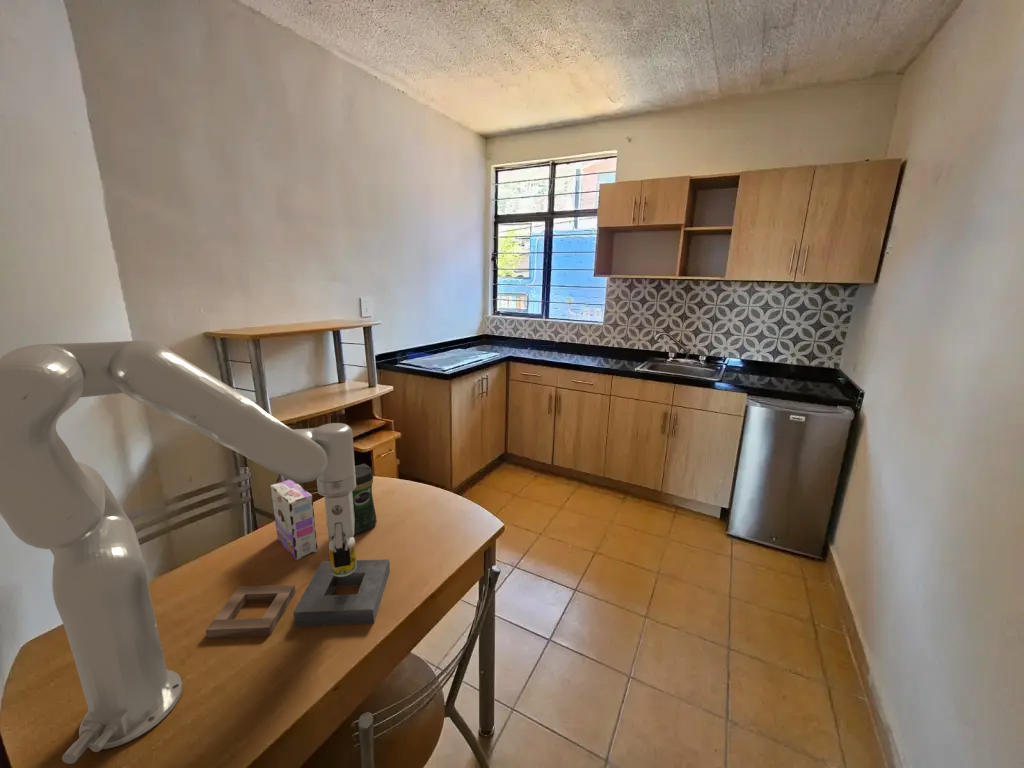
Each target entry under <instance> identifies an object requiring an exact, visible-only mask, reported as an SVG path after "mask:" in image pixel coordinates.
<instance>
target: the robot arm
mask: <svg viewBox="0 0 1024 768" xmlns="http://www.w3.org/2000/svg"><path fill="white" fill-rule="evenodd" d="M118 394H124V395H126V396H127V397H129V398H131V399H132V400H135V401H136V402H138V403H140V404H142V405H144V406H147V407H148V408H150V409H152V410H154V411H156V412H157V413H160V414H162V415H164V416H166V417H169V418H171V419H173V420H175V421H176V422H178V423H179V424H183V425H184V426H185V427H189V429H193V430H194V431H195V432H197V433H200V434H202V435H204V436H205V437H208V438H210V439H212V440H213V441H214V442H216V443H218V444H220V445H221V446H224V447H225V448H228V449H230V450H231V451H234V452H236V453H238V454H239V455H241V456H243V457H245V458H246V459H249V460H250V461H252V462H254V463H255V464H258V465H260V466H261V467H263V468H265V469H267V470H268V471H271V472H273V473H275V474H277V475H279V476H280V477H283V478H285V479H287V480H292V481H294V482H296V483H298V484H299V483H300V484H303V483H304V484H305V483H310V482H313V481H315V480H316V485H317V493H318V494H319V495H320V496H323V497H324V505H325V508H324V509H325V518H326V527H327V533H328V539H329V540H330V541H332V540H333V546H334V550H333V557H334V567H335V568H337V567H342V566H348V565H350V563H351V561H350V549H349V547H348V539H347V537H348V538H349V537H354V536H355V535H354V528H355V515H354V505H353V494H352V491H353V490H354V489H355V488H356V475H355V466H356V465H355V464H356V462H355V450H354V436H353V429H352V427H350V425H348V424H346V423H342V422H332V423H325V424H322V425H320V426H317V427H310V428H309V427H308V428H296V429H294V428H293V429H292V428H291V427H290V426H287V425H286V424H284V423H283V422H281V421H280V420H278V419H277V418H275V417H274V416H272V415H271V414H269V412H267V411H265V410H264V408H262V407H261V406H260V405H259V404H257V403H255V402H254V401H253V400H252V399H250V398H249V397H247V396H246V395H244V394H243V393H241V392H240V391H239V390H236V389H235V388H234V387H231V386H230V385H228V384H226V383H224V382H223V381H221V380H220V379H218V378H216V377H214V376H213V375H211V374H209V373H208V372H206V371H205V370H203V369H202V368H200V367H199V366H197V365H196V364H193V363H192V362H190V361H188V360H186V359H185V358H183V357H182V356H180V355H179V354H177V353H176V352H173V351H172V350H171V349H170V348H168V347H166V346H165V345H163V344H161V343H158V342H156V341H155V342H154V341H150V340H128V341H127V340H125V341H124V340H123V341H105V342H103V341H102V342H100V341H99V342H72V343H71V342H70V343H42V344H32V345H31V344H30V345H26V346H21V347H17V348H15V349H13V350H10V351H8V352H7V353H6V354H4V355H3V356H2V357H0V515H1V517H2V518H3V519H4V521H5V523H6V524H7V525H8V527H9V529H10V531H12V533H13V534H14V535H15V536H16V537H17V538H18V539H19V540H20V541H21V542H23V543H24V544H26V545H27V546H28V545H29V546H31V547H34V548H36V549H42V550H49V551H50V552H51V553H52V555H53V564H52V580H51V581H52V582H51V583H52V584H51V585H52V596H53V600H54V603H55V607H56V611H57V612H58V615H59V617H60V619H61V621H62V625H63V627H64V630H65V634H66V637H67V639H68V644H69V646H70V647H69V648H70V650H71V653H72V657H73V661H74V662H75V667H76V670H77V673H78V678H79V681H80V684H81V688H82V690H83V695H84V699H85V702H86V706H87V710H88V711H87V712H86V713H85V715H84V717H83V718H82V720H81V722H80V725H79V729H78V736H79V738H78V739H76V741H74V742H73V744H72V745H70V747H69V748H67V750H66V752H64V753H63V755H62V756H61V760H62V762H63V763H65V764H67V765H69V764H71V765H72V764H74V763H76V762H77V761H78V759H79V758H80V757H81V756H82V755H83V754H84V753H85V751H86V750H87V749H90V750H91V751H92V752H94V753H99V752H100V751H102V750H108V749H112V748H115V747H119V746H121V745H124V744H126V743H130V742H131V741H133V740H135V739H137V738H138V737H140V736H143V734H144V735H145V733H147V732H149V730H151V729H152V728H153V727H155V726H157V725H158V724H159V723H160V722H161V721H162V720H163V719H165V717H166V716H168V714H169V713H170V712H171V711H172V710H173V709H174V707H175V706H176V704H177V703H178V701H179V699H180V697H181V695H182V692H183V682H182V678H181V676H180V674H179V673H177V672H176V671H173V670H170V669H167V665H166V661H165V656H164V651H163V647H162V643H161V637H160V633H159V628H158V624H157V618H156V614H155V611H154V607H153V602H152V601H153V600H152V597H151V593H150V592H151V591H150V587H149V580H148V575H147V574H148V573H147V567H146V564H145V563H146V562H145V559H144V555H143V553H142V549H141V545H140V543H139V539H138V536H137V532H136V530H135V527H134V525H133V523H132V522H131V519H130V518H129V517H128V515H127V514H126V512H125V510H124V509H123V508H122V506H121V505H120V503H119V501H118V500H117V498H116V496H115V495H114V494H113V492H112V490H111V489H110V487H109V485H108V484H107V482H106V481H105V480H104V479H103V477H102V476H101V474H100V473H99V472H98V470H96V469H95V468H93V467H92V466H89V465H88V464H86V463H82V462H79V461H76V459H75V458H74V457H73V455H72V453H71V451H70V449H69V447H68V446H67V444H66V443H65V442H64V441H63V439H62V438H61V436H60V435H59V434H58V432H57V422H58V420H59V419H60V417H61V416H62V415H63V414H65V412H66V411H68V410H69V409H70V408H71V407H73V406H74V405H75V404H76V403H77V402H78V401H79V399H81V398H89V397H99V396H100V397H101V396H108V395H109V396H110V395H118ZM342 533H345V535H342ZM335 534H336V536H335ZM342 539H345V544H344V543H343V541H342Z"/></svg>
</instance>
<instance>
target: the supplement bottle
mask: <svg viewBox="0 0 1024 768" xmlns="http://www.w3.org/2000/svg"><path fill="white" fill-rule="evenodd" d="M342 535H345V533H342ZM335 536H336V534H335ZM347 539H348V547H349V549H350V561H351V563H350V565H348V566H342V567H337V568H335V567H334V557H333V550H334V546H333V540H332V541H331V540H330V541H329V543H328V551H329V552H328V553H329V561H330V563H331V572H332V574H333V575H334V576H337V577H344V576H347V575H350V574H351V573H353V572H354V571H355V569H356V567H357V552H356V551H357V550H356V540H355V537H354V536H353V537H349V538H348V537H347ZM342 541H343V543H344V544H345V539H342Z"/></svg>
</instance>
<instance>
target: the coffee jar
mask: <svg viewBox="0 0 1024 768" xmlns="http://www.w3.org/2000/svg"><path fill="white" fill-rule="evenodd" d="M355 475H356V488H355V489H354V490H353V491H352V494H353V505H354V515H355V528H354V536H355V535H357V534H360V533H364V532H365V531H368V530H370V529H371V528H373V527H374V526H376V524H377V522H378V521H377V513H376V509H375V503H374V497H373V483H374V475H373V471H372V468H371V467H370V466H369V465H368V464H366V463H362V464H358V465H355Z"/></svg>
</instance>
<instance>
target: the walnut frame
mask: <svg viewBox="0 0 1024 768" xmlns="http://www.w3.org/2000/svg"><path fill="white" fill-rule="evenodd" d="M295 595H296V585H295V584H282V585H281V584H278V585H277V584H276V585H254V586H253V585H251V586H239V587H238V588H237V590H236V591H235V592H234V593H233V594H232V596H230V598H229V600H228V601H227V602H226V603H225V604H224V605H223V607H222V608H221V610H220V611H219V612H218V614H217V615H216V616H215V617H214V618H213V620H212V621H211V622H210V624H209V625H208V626H207V628H206V629H205V632H206V633H205V634H206V638H207V639H221V638H243V637H247V638H248V637H267V636H272V633H273V631H274V630H275V628H276V626H277V625H278V623H279V621H280V620H281V618H282V616H283V615H284V613H285V611H286V610H287V607H288V606H289V604H290V603H291V601H292V600H293V597H294V596H295ZM252 602H253V603H257V602H271V604H270V605H269V607H268V608H267V610H266V612H265V613H264V615H262V617H254V618H252V617H251V618H236V617H237V616H238V614H239V613H240V612H241V610H242V608H244V606H245V605H246V603H252Z"/></svg>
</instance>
